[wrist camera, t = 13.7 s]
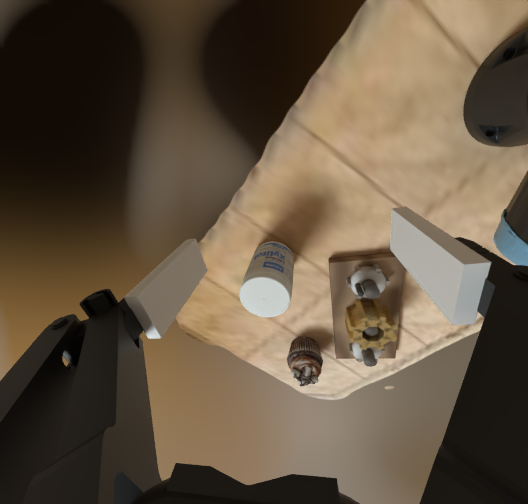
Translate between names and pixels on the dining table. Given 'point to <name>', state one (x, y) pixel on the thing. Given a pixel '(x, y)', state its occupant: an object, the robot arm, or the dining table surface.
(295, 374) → the cupcake
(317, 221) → the dining table surface
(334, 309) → the gear board
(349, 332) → the brass gear
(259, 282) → the supplement tub
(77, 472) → the robot arm
